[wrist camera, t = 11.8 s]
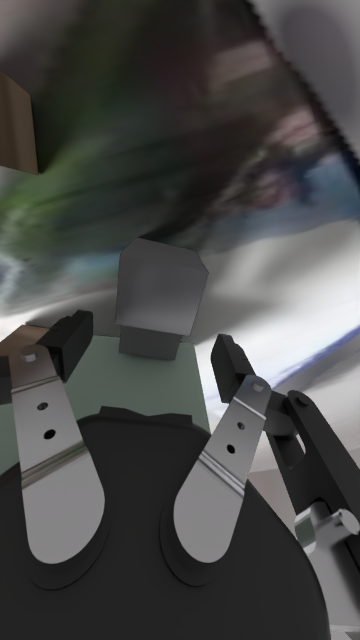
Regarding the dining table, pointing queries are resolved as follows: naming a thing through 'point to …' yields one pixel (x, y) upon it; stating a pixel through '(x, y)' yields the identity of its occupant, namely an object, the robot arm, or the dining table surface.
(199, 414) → the door
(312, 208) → the dining table surface
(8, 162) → the wall frame
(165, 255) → the grey stepped block
